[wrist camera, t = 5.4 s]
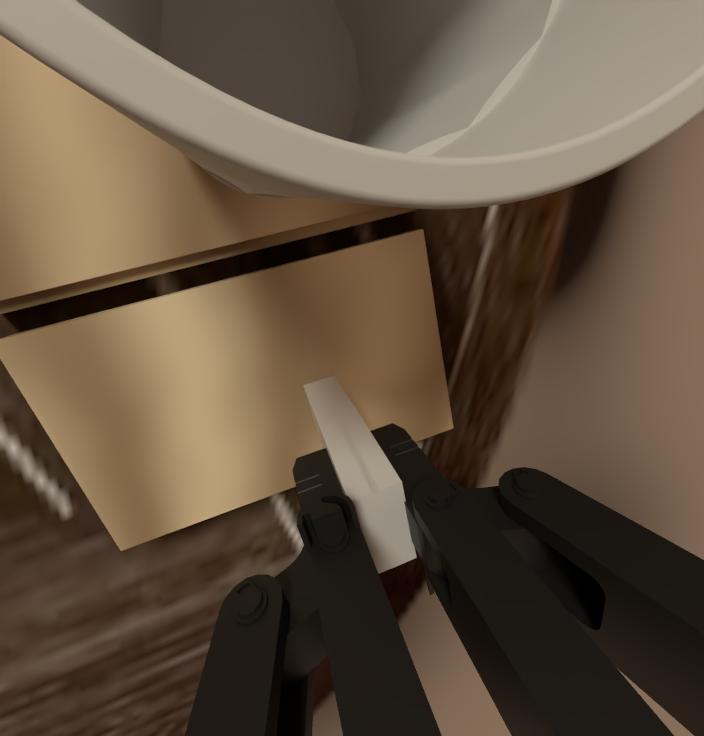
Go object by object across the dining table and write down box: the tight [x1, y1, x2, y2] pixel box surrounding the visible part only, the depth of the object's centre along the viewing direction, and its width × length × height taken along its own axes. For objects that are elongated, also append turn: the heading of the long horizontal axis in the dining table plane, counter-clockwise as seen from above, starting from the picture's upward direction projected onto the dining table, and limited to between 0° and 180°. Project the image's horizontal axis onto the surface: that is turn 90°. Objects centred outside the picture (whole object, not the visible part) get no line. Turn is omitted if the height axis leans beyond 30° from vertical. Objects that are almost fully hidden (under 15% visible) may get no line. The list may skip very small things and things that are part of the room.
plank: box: [0, 229, 453, 551], centre depth 15 cm, size 15×9×1 cm, turn 103°
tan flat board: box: [0, 35, 418, 314], centre depth 11 cm, size 15×9×1 cm, turn 103°
